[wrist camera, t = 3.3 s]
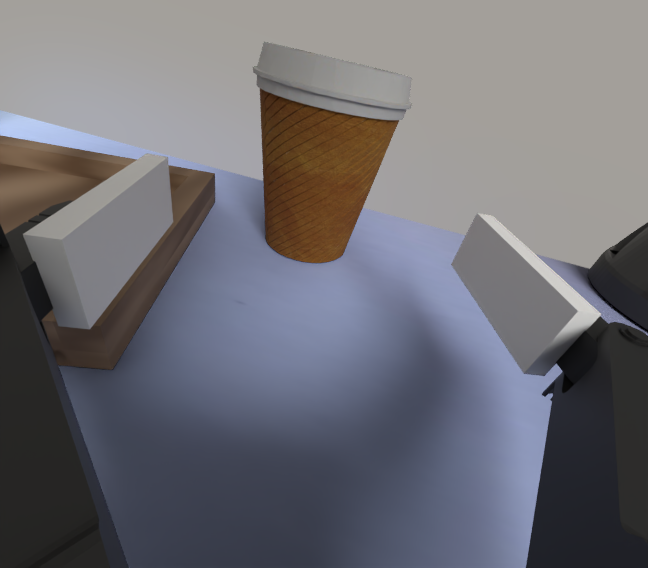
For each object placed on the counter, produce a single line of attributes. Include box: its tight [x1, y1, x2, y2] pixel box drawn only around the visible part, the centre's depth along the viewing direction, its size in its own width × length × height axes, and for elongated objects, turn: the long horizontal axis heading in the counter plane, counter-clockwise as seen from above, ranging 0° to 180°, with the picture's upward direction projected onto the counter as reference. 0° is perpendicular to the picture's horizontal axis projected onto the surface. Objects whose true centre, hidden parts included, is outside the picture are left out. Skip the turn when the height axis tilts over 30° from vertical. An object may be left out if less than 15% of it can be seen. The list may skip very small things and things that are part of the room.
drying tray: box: [0, 136, 215, 370], centre depth 19 cm, size 18×18×2 cm
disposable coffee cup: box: [253, 42, 412, 263], centre depth 22 cm, size 10×10×12 cm
